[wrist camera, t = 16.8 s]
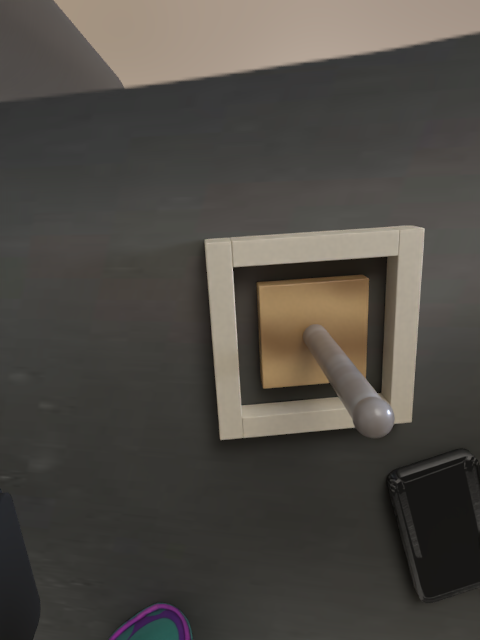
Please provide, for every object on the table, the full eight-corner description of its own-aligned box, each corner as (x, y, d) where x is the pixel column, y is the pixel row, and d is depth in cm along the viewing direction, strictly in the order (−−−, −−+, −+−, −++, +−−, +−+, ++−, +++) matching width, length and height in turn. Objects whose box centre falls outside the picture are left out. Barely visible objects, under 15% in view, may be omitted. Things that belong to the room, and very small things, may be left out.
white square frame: (204, 239, 33) (204, 243, 31) (412, 225, 34) (425, 228, 32) (219, 427, 37) (220, 440, 35) (401, 410, 38) (411, 422, 36)
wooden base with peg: (256, 282, 34) (295, 356, 20) (362, 274, 34) (471, 341, 21) (260, 380, 36) (297, 507, 22) (359, 372, 37) (455, 490, 23)
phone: (477, 452, 39) (500, 581, 43) (469, 445, 40) (493, 571, 44) (387, 481, 39) (420, 606, 43) (382, 473, 40) (415, 596, 44)
